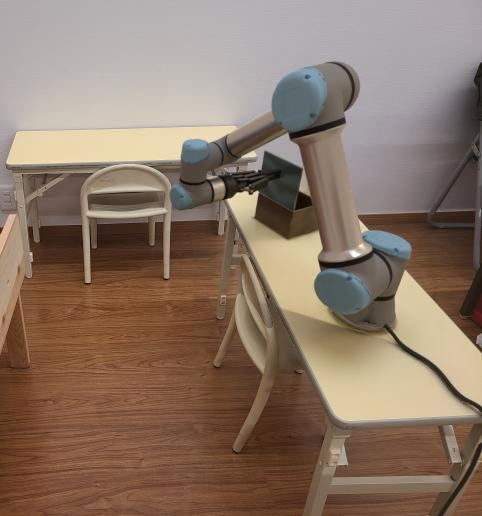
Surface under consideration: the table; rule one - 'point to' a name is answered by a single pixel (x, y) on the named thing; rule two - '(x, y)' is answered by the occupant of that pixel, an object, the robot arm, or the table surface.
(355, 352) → the table surface
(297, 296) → the table surface
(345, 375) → the table surface
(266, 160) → the lid
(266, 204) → the chest
